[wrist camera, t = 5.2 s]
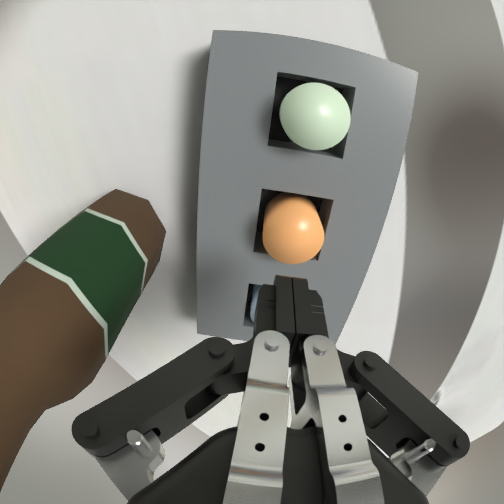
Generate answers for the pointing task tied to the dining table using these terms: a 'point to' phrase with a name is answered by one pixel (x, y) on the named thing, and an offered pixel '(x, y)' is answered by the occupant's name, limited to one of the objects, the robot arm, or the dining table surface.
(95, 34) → the dining table surface
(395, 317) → the dining table surface
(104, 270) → the beer bottle
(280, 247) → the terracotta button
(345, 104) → the sage button
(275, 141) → the button panel
